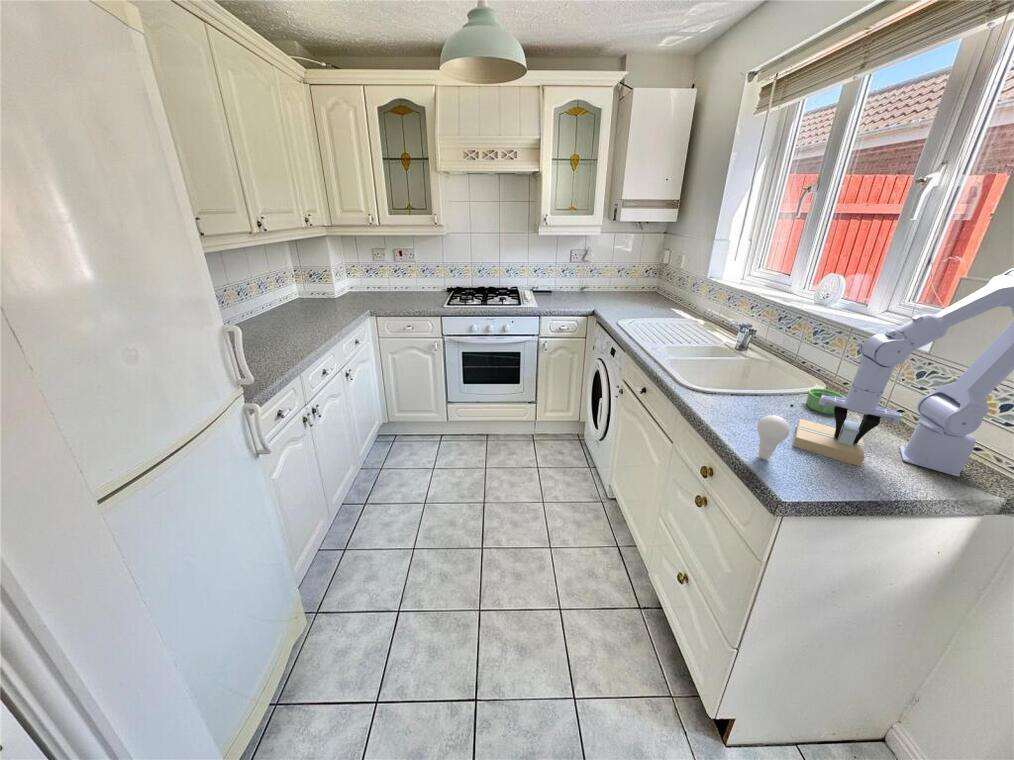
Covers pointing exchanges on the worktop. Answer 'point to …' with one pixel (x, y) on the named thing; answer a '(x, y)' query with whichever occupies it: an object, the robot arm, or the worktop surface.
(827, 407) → the ramekin
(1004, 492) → the worktop surface
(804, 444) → the carton
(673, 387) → the worktop surface
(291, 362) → the worktop surface
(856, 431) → the tab
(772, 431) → the lightbulb
